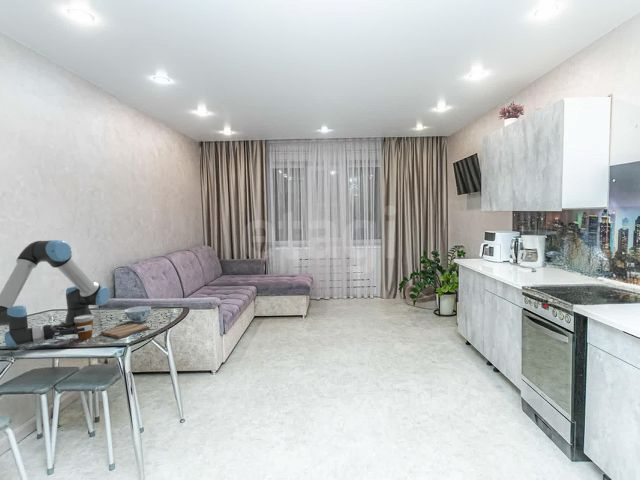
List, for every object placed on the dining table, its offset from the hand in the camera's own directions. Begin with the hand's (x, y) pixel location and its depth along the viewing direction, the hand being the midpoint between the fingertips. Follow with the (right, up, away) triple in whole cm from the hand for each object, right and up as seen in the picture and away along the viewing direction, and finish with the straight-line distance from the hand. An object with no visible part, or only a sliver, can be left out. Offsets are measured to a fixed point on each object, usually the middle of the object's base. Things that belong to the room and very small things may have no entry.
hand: (90, 324), depth 213 cm
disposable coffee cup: (-2, -7, -1) cm, 8 cm away
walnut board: (+15, -6, +8) cm, 18 cm away
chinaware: (+13, -4, +30) cm, 33 cm away
